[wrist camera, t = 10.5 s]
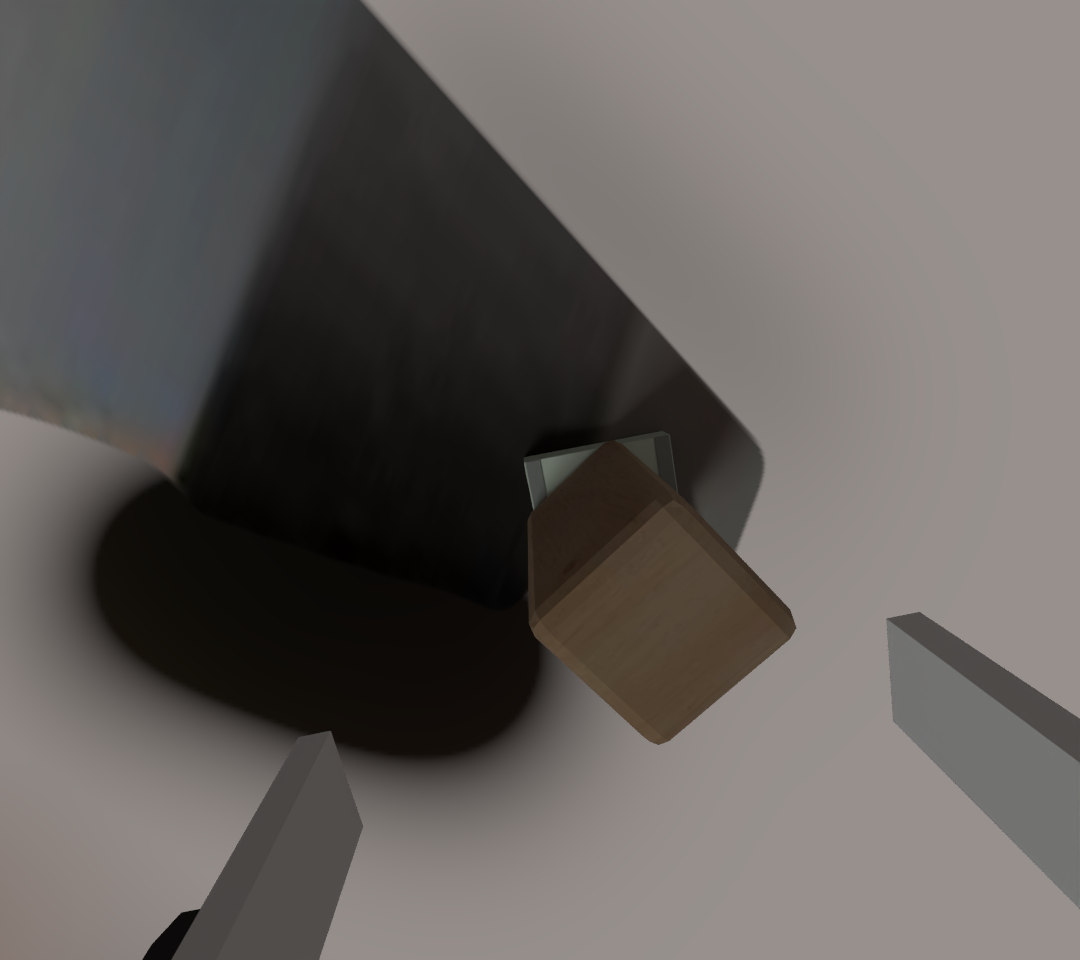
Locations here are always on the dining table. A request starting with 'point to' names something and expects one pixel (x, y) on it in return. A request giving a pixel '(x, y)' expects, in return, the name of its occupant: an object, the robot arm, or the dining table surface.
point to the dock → (559, 465)
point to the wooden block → (645, 595)
